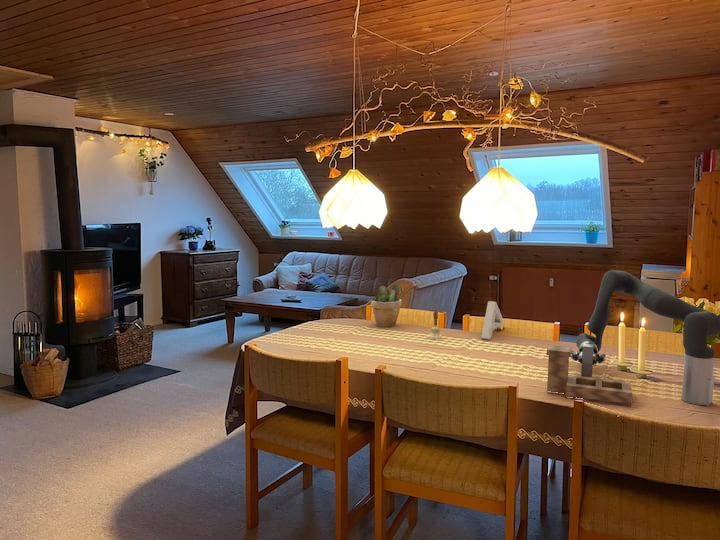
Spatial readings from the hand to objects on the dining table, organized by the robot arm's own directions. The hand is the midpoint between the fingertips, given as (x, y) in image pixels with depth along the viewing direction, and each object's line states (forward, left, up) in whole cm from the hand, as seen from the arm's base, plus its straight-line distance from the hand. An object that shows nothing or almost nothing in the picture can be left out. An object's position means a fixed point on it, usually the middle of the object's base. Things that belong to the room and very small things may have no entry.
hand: (587, 361), depth 220 cm
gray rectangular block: (+1, -3, -10) cm, 10 cm away
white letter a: (+74, -57, -11) cm, 94 cm away
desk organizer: (-4, +10, -10) cm, 15 cm away
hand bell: (+92, -26, -10) cm, 96 cm away
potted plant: (+132, -31, -10) cm, 136 cm away
